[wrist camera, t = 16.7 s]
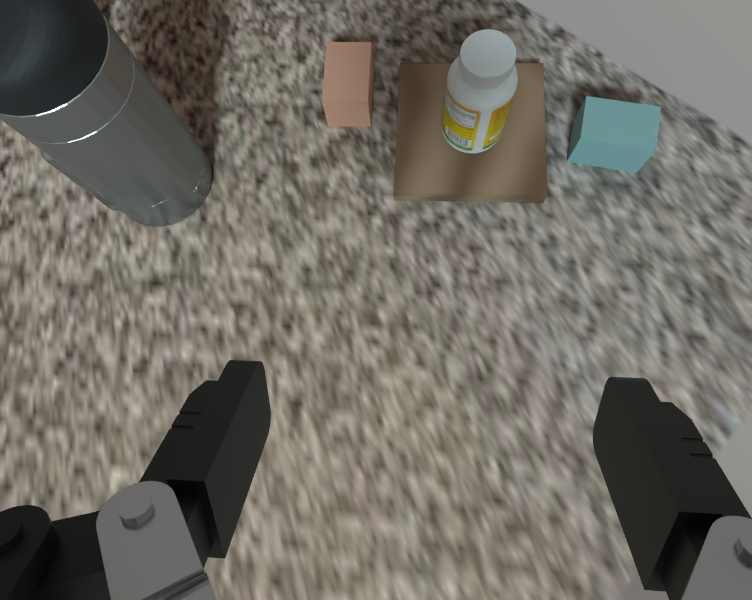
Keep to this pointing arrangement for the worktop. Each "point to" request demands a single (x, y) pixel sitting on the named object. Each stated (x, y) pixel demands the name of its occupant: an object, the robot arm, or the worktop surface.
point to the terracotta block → (348, 84)
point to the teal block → (614, 134)
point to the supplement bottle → (479, 91)
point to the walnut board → (469, 170)
